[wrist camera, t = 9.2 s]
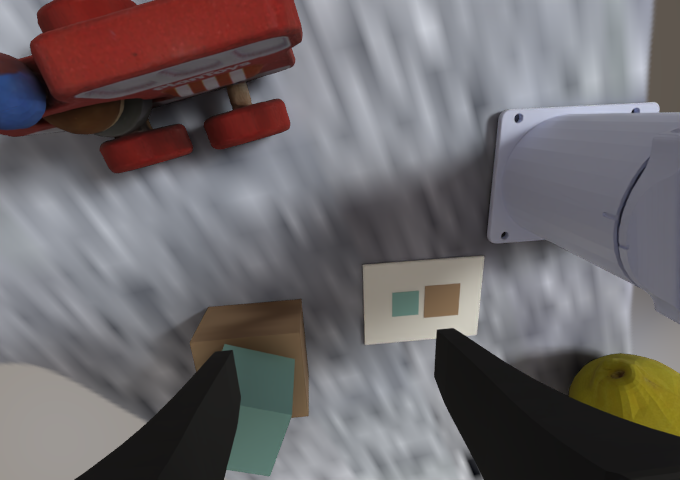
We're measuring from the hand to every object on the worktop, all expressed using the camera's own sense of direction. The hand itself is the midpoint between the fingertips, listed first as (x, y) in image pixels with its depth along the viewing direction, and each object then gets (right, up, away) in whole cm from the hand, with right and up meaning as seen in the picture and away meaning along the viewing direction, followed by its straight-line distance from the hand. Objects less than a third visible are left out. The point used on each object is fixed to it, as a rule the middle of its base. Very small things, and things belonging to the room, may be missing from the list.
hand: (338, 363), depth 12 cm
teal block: (-5, -4, +8) cm, 10 cm away
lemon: (+20, -6, +15) cm, 26 cm away
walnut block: (-5, -3, +12) cm, 13 cm away
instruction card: (+6, 0, +11) cm, 13 cm away
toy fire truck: (-8, +13, +6) cm, 16 cm away
